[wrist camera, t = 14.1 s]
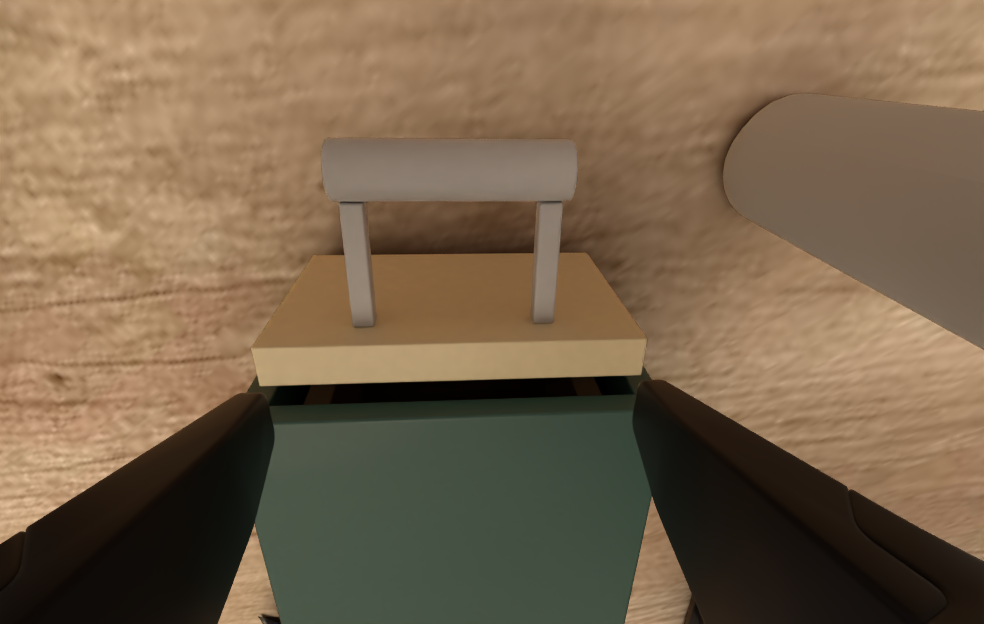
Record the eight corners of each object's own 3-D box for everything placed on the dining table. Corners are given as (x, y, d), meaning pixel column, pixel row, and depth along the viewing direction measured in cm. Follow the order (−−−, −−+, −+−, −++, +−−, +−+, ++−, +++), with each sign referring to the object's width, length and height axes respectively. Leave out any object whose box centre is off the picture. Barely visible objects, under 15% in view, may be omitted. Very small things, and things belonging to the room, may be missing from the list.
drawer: (291, 113, 17) (204, 145, 11) (601, 116, 18) (682, 148, 12) (344, 468, 24) (308, 610, 18) (564, 459, 25) (603, 591, 19)
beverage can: (848, 186, 20) (1286, 329, 10) (732, 240, 21) (1022, 430, 10) (828, 67, 18) (1356, 81, 8) (701, 131, 19) (1022, 226, 8)
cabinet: (308, 287, 21) (226, 424, 13) (591, 283, 21) (672, 409, 14) (341, 498, 26) (296, 685, 18) (568, 487, 27) (617, 662, 19)
